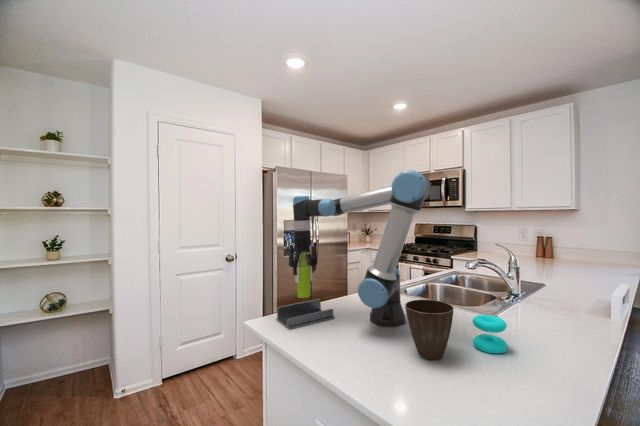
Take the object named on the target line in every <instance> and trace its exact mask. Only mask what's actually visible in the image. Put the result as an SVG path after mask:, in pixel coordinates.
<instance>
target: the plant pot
mask: <svg viewBox="0 0 640 426" xmlns="http://www.w3.org/2000/svg"><path fill="white" fill-rule="evenodd" d="M404 306H405V307H404V308H405V315H406V317H407V319H406V320H407V322H408V327H409V330H410V333H411V338H412V341H413V343H414V345H415V348H416V351H417V353H418V355H419V356H420V357H421V358H423V359H425V360H428V361H438V360H441V359H443V357H444V356H445V355H444V354H445V352H446V349H447V346H448V343H449V340H450V335H451V330H452V326H453V317H454V309H455V308H454V306H452V304H449V303H447V302H444V301H440V300H433V299H415V300H409V301H407V302H406V303H405V305H404Z"/></svg>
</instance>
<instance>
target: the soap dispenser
mask: <svg viewBox="0 0 640 426" xmlns="http://www.w3.org/2000/svg"><path fill="white" fill-rule="evenodd" d="M306 254H311V255H312V252H311V251H310V252H305V251H301V253H300V258H299V262H298V266H297V268H299V283H297V282H296V289H297V290H296V291H297V292H296V293H297V298H299V299H306V298H310V297H311V281H310V270H309V267H308V266H309V265H307V258H305V255H306Z"/></svg>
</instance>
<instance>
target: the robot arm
mask: <svg viewBox="0 0 640 426" xmlns="http://www.w3.org/2000/svg"><path fill="white" fill-rule="evenodd" d="M431 192H432V184H431V181H430V180H429V178H428V177H427V176H425V175H424V174H422V173H421V172H419V171H416V170H411V169H410V170H404V171H401V172H399V173H398V174H397V175H396V176H395V177H394V179H393V180H392V181H391V185H390V186H386V187H381V188H377V189H373V190H370V191H366V192H360V193H357V194H353V195H348V196H344V197H340V198H335V199H332V198H322V199H321V198H320V199H310V196H309V195H296V196H294V197H293V198H292V209H293V210H292V211H293V213H292V214H293V230H294V231H293V240H294V241H293V243H291V244H288V245H287V248H288V267H290V268H292V274H293V276H294V283H296V284H297V283H299V268H297V267H299V260H300V258H301V254H300V253H301V252H310V253H311V254H305V255H306V260H307V262H308V265H307V266H308V267H309V270H310V282H312V281H313V274H314V266H315V265H317V264H318V254H317V246H318V245H317V242H315V241H312V239H311V238H312V236H311V232H312V231H311V218H312V217H313V218H314V217H317V218H318V217H319V218H320V217H324V218H326V217H338V216H341V215H346V214H349V213H355V212H358V211H359V212H360V211H364V210H369V209H373V208H378V207H383V206H387V205H390V206H391V208H390V211H389V216H388V218H387V222H386V224H385V227H384V230H383V233H382V237H381V240H380V242H379V246H378V249H377V251H376V254H375V257H374V260H373V264H372V265H370V266H367V270H366V272H365V276H364V279H362V280H361V281H360V283H359V285H358V286H357V287H358V288H357V294H358V295H357V296H358V298H359V299H360V301H361V302H362V303H363V305H365V306H367V307H369V308H371V311H370V313H369V321H370V322H371V323H372V324H373V325H377V326H382V327H399V326H402V325H404V324H405V323H406V313H404V309H403V307H402V303H401V302H402V301H401V279H400V278H401V275H400V270H399V268H397V267H398V263H399V260H400V258H401V257H400V256H401V254H402V251H403V248H404V245H405V242H406V240H407V237H408V234H409V231H410V228H411V225H412V222H413V219H414V216H415V215H416V214H418V213H420V212H421V210H422V207H423V203H424V201H425V200H427V199H428V198H429V196H430V194H431ZM310 247H311V249H310ZM294 249H295V250H294ZM294 253H295V254H294Z"/></svg>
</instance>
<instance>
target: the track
mask: <svg viewBox="0 0 640 426" xmlns="http://www.w3.org/2000/svg"><path fill="white" fill-rule="evenodd" d="M334 319H335V316H334V309H332V308H329V309H325V310H322V307H321V298H315V299H311V300H306V301H301V302H295V303H291V304H287V305H285V304H284V305H281V306H277V307H276V321H278V322H279V323H280V324H281V325H283V326H284V327H285V328H286V329H287V330H289V331H290V330H295V329H298V328H302V327H306V326H307V327H308V326H310V325H316V324H320V323H322V322H327V321H331V320H334Z"/></svg>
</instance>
